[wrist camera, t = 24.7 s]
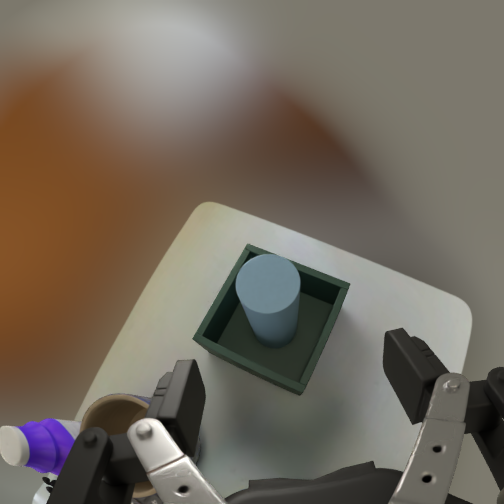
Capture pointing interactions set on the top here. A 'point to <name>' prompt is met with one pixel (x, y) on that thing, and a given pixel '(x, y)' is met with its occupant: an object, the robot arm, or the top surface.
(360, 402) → the top surface
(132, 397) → the planter
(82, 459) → the robot arm
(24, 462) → the bottle
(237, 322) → the bin
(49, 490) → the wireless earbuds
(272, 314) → the cylinder
